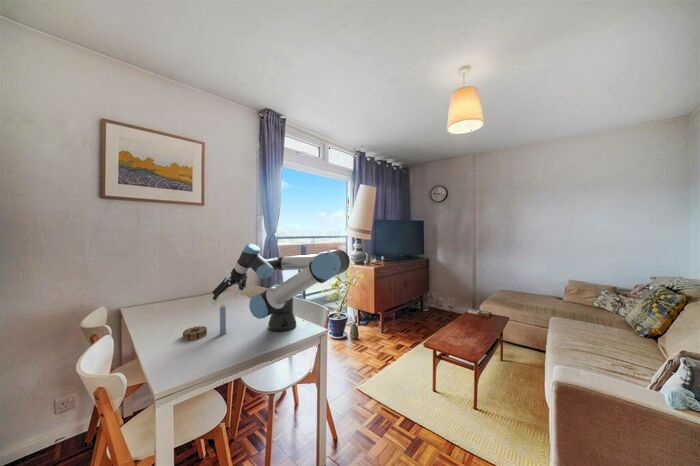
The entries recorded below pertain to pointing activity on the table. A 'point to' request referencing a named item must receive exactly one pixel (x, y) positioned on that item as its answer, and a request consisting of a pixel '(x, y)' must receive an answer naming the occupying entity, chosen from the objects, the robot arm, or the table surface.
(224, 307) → the dowel
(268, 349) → the table surface
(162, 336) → the table surface
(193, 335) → the wooden gear
